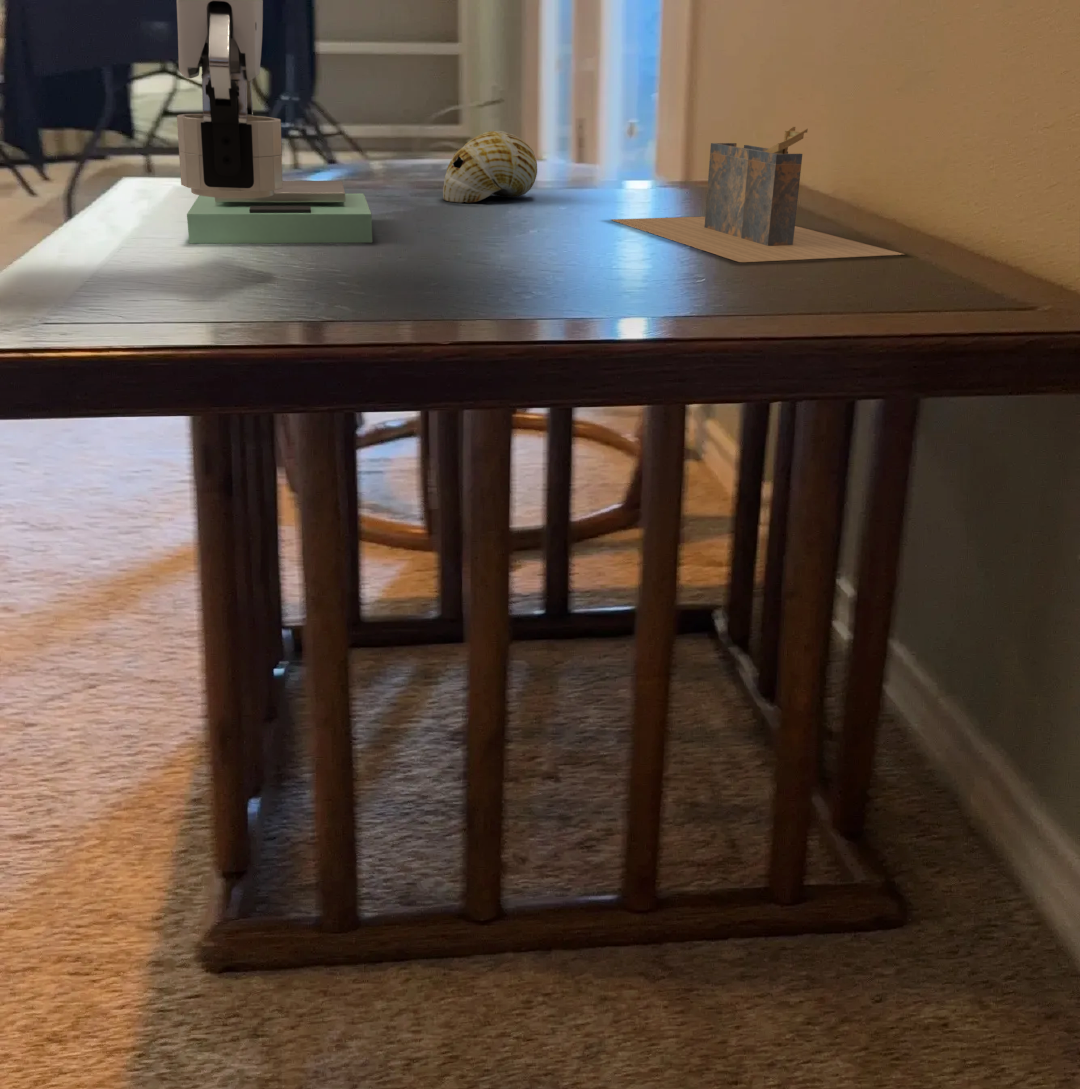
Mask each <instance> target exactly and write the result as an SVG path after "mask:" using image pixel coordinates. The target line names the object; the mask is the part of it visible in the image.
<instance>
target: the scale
mask: <svg viewBox="0 0 1080 1089" xmlns="http://www.w3.org/2000/svg"><path fill="white" fill-rule="evenodd" d="M372 216H373V215H372V212H371V210H370V207H369V204H368V201H367V198H366V196H365V193H345V202H215V197H206V196H200V195H197V198H196V199H195V200H194V203H193V204H192V206H191V207H190V209H189V210H188V212H187V213H186V220H187V221H186V222H187V223H186V224H187V232H188V243H189V245H191V244H192V245H197V244H200V245H201V244H204V245H205V244H206V245H208V244H209V245H210V244H212V245H213V244H223V245H224V244H371V243H372V244H373V220H372V218H373V217H372Z"/></svg>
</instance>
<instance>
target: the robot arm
mask: <svg viewBox="0 0 1080 1089" xmlns="http://www.w3.org/2000/svg"><path fill="white" fill-rule="evenodd" d="M176 22H177V48H178V49H177V50H178V51H177V52H178V53H177V54H178V71H179V73H180V74H181V75H182V76H183V77H184V78H186V79H195V78H197V77H198V76H199V75H200V71H201V93H202V95H201V96H202V114H203V121H204V122H201V138H202V156H203V174H204V183H205V185H207V186H208V187H224V188H251V187H252V186H253V184H254V169H253V144H252V124H247V115H249V116H254V110H253V108H254V107H253V91H252V80H253V79H256V78H257V77H258V76H259V75H260V72H261V60H262V47H263V29H264V28H263V24H264V23H263V22H264V0H176ZM200 69H201V70H200Z"/></svg>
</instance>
